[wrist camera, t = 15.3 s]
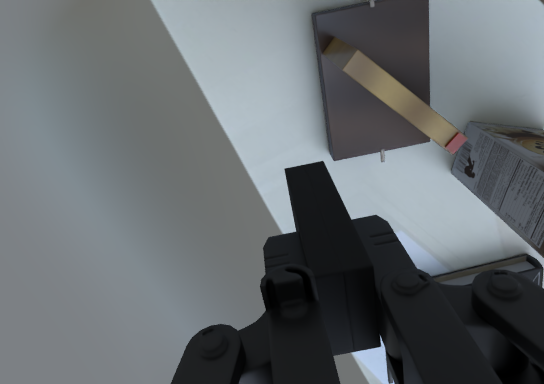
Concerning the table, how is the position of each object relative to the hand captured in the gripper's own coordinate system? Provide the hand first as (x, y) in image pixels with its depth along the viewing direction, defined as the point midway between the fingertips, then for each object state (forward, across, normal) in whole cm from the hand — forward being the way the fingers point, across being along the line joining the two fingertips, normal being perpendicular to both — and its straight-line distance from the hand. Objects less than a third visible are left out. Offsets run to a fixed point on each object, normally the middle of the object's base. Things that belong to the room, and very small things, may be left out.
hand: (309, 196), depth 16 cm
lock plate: (+26, +10, -3) cm, 28 cm away
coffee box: (+27, +23, -14) cm, 38 cm away
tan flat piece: (+24, +10, -3) cm, 26 cm away
